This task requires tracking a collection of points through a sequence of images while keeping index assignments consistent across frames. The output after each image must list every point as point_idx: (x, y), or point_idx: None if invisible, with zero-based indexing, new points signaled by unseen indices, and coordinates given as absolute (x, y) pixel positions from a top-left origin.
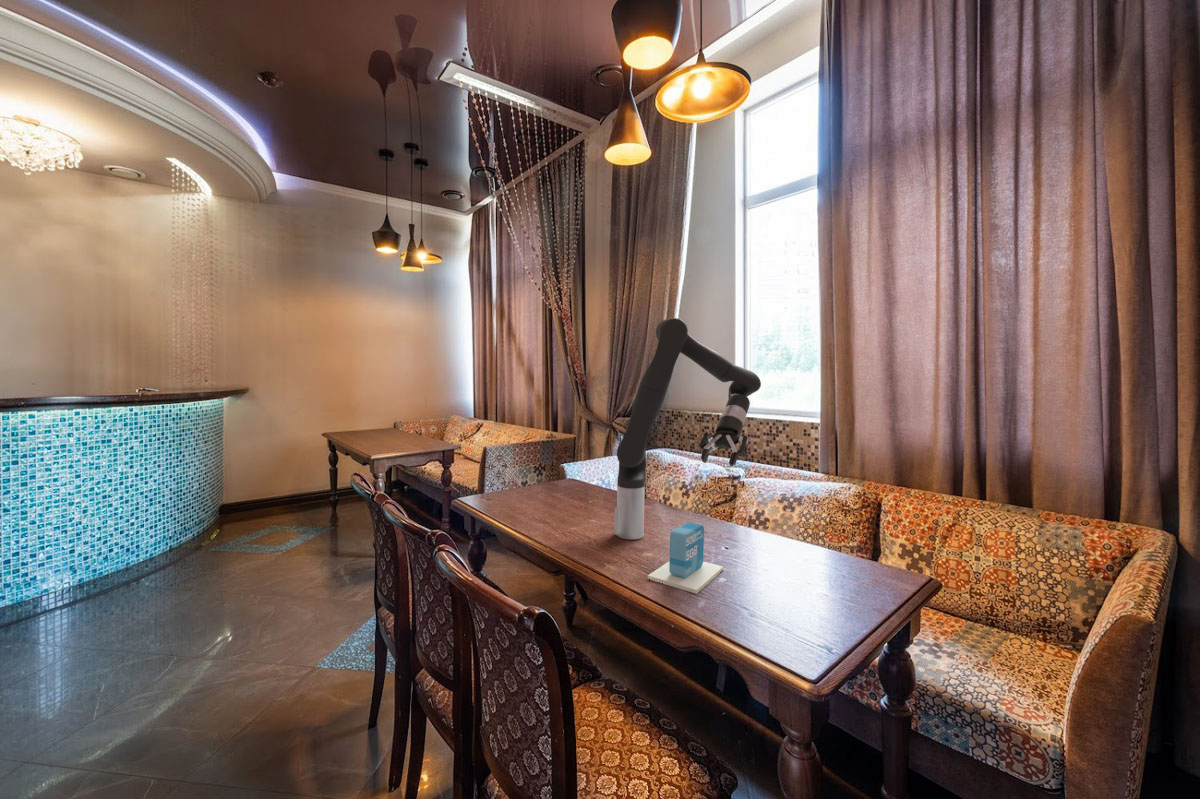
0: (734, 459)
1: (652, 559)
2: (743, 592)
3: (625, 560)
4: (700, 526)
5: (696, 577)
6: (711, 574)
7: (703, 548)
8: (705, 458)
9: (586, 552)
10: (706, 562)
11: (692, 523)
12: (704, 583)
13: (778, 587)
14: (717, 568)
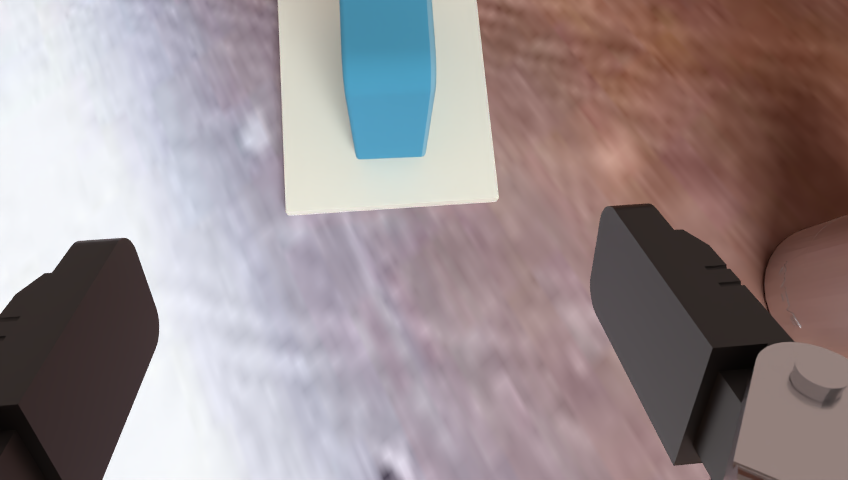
0: (11, 315)
1: (567, 121)
2: (149, 85)
3: (637, 46)
4: (342, 36)
5: (325, 52)
6: (291, 111)
7: (352, 135)
8: (616, 272)
9: (798, 12)
10: (362, 204)
11: (399, 45)
12: (279, 28)
13: (48, 208)
14: (297, 177)
